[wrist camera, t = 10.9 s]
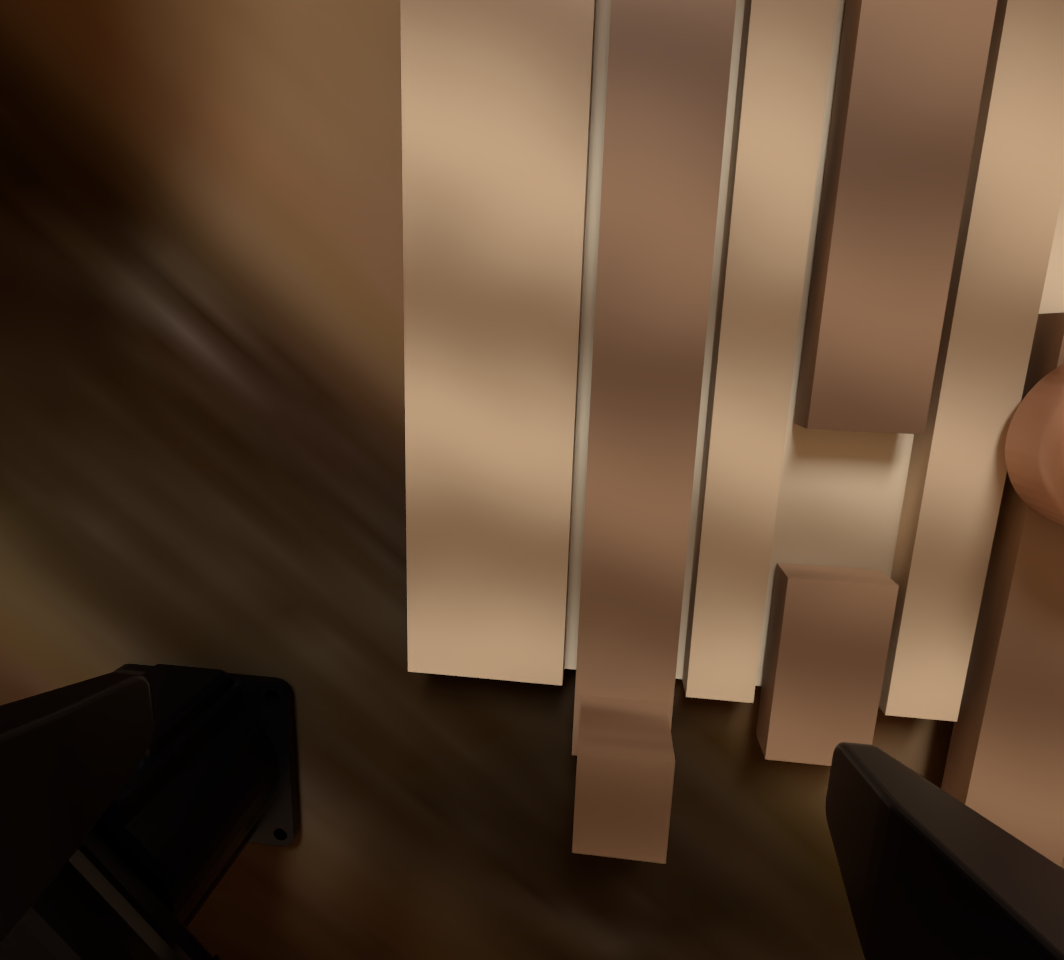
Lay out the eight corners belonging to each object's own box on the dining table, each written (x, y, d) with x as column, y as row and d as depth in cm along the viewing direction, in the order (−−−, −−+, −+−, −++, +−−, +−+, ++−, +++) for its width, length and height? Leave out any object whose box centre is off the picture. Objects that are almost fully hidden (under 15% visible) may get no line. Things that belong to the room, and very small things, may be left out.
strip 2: (988, 1020, 21) (1071, 1169, 17) (897, 1008, 21) (958, 1151, 17) (1157, 317, 16) (1323, 311, 12) (1035, 313, 16) (1161, 306, 12)
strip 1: (661, 768, 20) (673, 864, 16) (572, 759, 20) (564, 851, 17) (732, -43, 15) (772, -164, 12) (614, -40, 16) (616, -156, 12)
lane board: (1207, 754, 19) (1290, 812, 17) (426, 681, 22) (404, 722, 19) (1459, -85, 14) (1621, -166, 12) (423, -51, 17) (393, -113, 15)
